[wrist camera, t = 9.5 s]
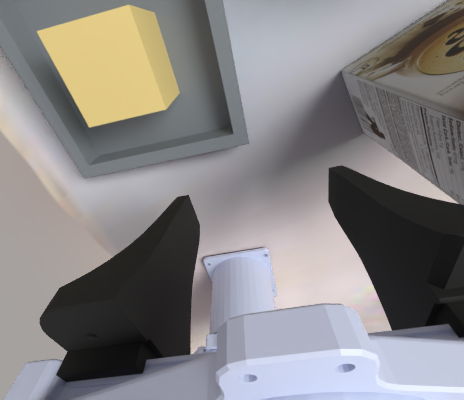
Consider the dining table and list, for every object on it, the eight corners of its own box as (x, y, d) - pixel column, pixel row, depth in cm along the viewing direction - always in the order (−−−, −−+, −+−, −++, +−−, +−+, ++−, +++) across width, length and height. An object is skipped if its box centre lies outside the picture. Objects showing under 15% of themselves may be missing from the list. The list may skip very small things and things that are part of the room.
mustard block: (179, 92, 19) (166, 109, 15) (119, 107, 19) (89, 127, 15) (154, 12, 16) (128, 4, 12) (84, 32, 16) (36, 31, 12)
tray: (246, 131, 21) (249, 143, 19) (99, 163, 23) (84, 178, 20) (201, -111, 14) (196, -141, 11) (-18, -39, 15) (-62, -52, 13)
